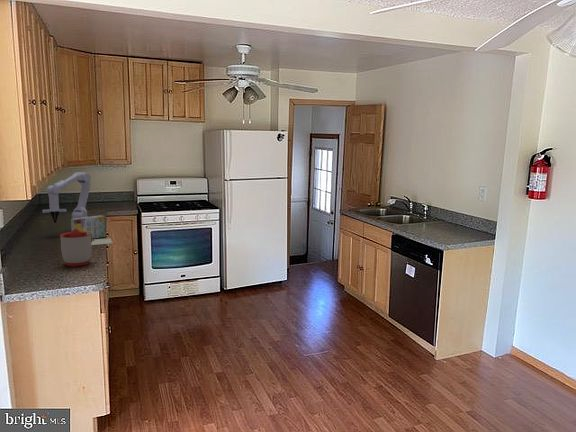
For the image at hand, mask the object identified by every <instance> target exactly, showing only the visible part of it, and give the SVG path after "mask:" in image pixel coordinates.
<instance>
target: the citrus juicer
mask: <svg viewBox="0 0 576 432" xmlns="http://www.w3.org/2000/svg"><path fill="white" fill-rule="evenodd" d="M59 236H60V238H59V239H60V250H61V251H60V253H61V256H62V260H63V262H64V264H65V266H66V267H67V266H68V267H72V268H75V267H82V266H86V265H88V264H89V263H90V261H91V257H92V247H93V245H91V242H92V241H94V239H92V235H91V234H89V235H87V232H84V231H79V230H77V229H74V230H73V231H72V230H71V231H68V232H63V233H61V234H60V235H59Z"/></svg>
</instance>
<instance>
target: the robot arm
mask: <svg viewBox="0 0 576 432" xmlns="http://www.w3.org/2000/svg"><path fill="white" fill-rule="evenodd" d="M91 178H92V177H91V174H90V173H89V172H86V171H85V172H82V171H76V172H74V173H73V174H72V175H70V176H69V177H67V178H65V179H64V180H63V179H59V180H58V181H57V182H56V183H53V184H52V185H48V187H47V188H46V193H47V194H48V195H47V196H48V203H49V209H48V208H47V209H42V211H41V212H42V214H45V213H46V214H48V213H50V216H51V217H52V219H53V223H54V224H57V223H58V222H57V221H58V217H59V215H60V213H66V212H67V208H60V204H59V202H60V200H59V195H60V193H61V191H63V190H65V189H66V188H67V187H68V185H70V184H71V183H74V182H75V181H77V182H78V183H79V184H80V185H81V188H80V193H79V198H78V202H77V206H76V207H75V208H74V209H73V212H72V213H71V219H73V218H82V217H88V210H87V209H86V206H87V203H88V198H89V194H90V193H89V192H90V189H91Z"/></svg>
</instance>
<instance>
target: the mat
mask: <svg viewBox="0 0 576 432" xmlns="http://www.w3.org/2000/svg"><path fill="white" fill-rule="evenodd" d="M110 244H111V245H112V244H114V242H113V240H112V239H111V238H95V239H94V241H92V242H91V246H98V245H99V246H100V245H110Z"/></svg>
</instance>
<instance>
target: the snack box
mask: <svg viewBox="0 0 576 432" xmlns="http://www.w3.org/2000/svg"><path fill="white" fill-rule="evenodd" d="M70 226H71V228H70V229H71V232H72V231H73V230H74V229H77V230H79V231H84V232H87V235H89V234H91V235H92V239H102V238H105V237H106V236H107V235H106V234H107V233H106V220H105V215H93V216H87V217H82V218H71V219H70Z"/></svg>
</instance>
